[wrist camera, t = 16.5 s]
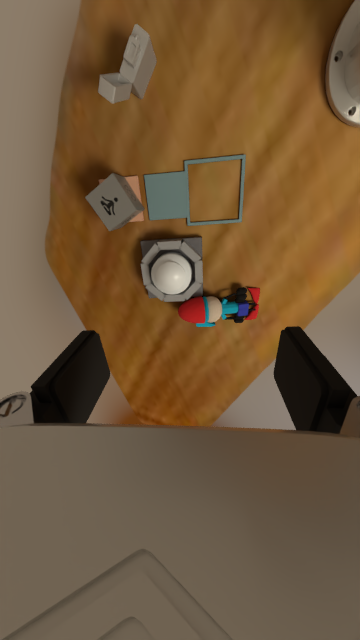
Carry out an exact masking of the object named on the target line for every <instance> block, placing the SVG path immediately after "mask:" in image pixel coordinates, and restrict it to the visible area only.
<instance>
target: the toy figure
mask: <svg viewBox="0 0 360 640" xmlns="http://www.w3.org/2000/svg"><path fill="white" fill-rule="evenodd" d="M248 289H249V290H250V293H251V295H252V298H253V301H254V303H248V302H247V301H246V300H245V299H246V297H247V295H246V294H245V293H246V292H247V289H246V288H245V287H243V288H238V289H237V293H236V294H235V293H233V294H231V295H229V296H227V297H225V298H223V300H222V302H220V301H219V300H218V299H217V298H216V297H212V296H210V297H203V298H202V296H201V297H195V298H192V299H189V300H187V301H185V302H184V303H183V304H182V305H181V306H180V307H179V310H178V314H179V316H180V317H181V318H182V319H183V320H185V321H187V322H191V323H196V325H197V327H212V326H214V325H215V323H214V322H215V321H217V320H218V319H219V318H220V316H222V318H223V320H224V319H225V320H226V319H234V322H235V323H242V322H243V321H244V320H251V319H256V317H257V314H258V308H259V305H258V304H257V303H258V300H259V294H260V288H248ZM233 295H237V296H236V299H235V301H233V302H227V301H228V300H227V298H229V297H231V296H233ZM255 304H256V306H255V307H254V308H253V309H248V307H249V305H255ZM248 311H251V312H250V313H249V315H248ZM230 313H235V318H232V317H226V316H225V314H230ZM245 315H248V316H247V317H246V318H245V319H244V320H243V318H244V316H245Z"/></svg>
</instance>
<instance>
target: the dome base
mask: <svg viewBox="0 0 360 640" xmlns="http://www.w3.org/2000/svg"><path fill="white" fill-rule="evenodd" d="M141 248H142V255H143V260H142V263H141V269H142V276H143V282H144V285H147V286H146V287H145V288H147V289H148V295H149V298H159V299H160V300H161V301H162V300H163V299H164V302H171V301H185V299H187V300H188V299H189V298H190V297H191V296H203V270H202V237H190V238H174V239H158V240H143V241H141ZM167 252H178V253H181V254H183V255H184V256H185V257H186V258H187V259H188V260H189V262H190V264H191V268H192V274H191V281H190V283H189V285H188V287H187V288H186V289H185V290H184V291H182V292H181V293H178V294H166V293H163V292H161V291H160V290H159V289H158V288H157V287H156V286H155V285H154V283H153V281H152V277H151V271H152V267H153V265H154V263H155V262H156V261H157V259H158V258H159V257H160V256H161V255H162V254H164V253H167Z"/></svg>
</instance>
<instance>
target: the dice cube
mask: <svg viewBox="0 0 360 640" xmlns="http://www.w3.org/2000/svg"><path fill="white" fill-rule="evenodd" d="M85 198H86V199H87V201H88V202H89V203H90V205H91V206H92V207H93V209H94V210H95V212H96V213H97V214H98V216H99V217H100V219H101V220H102V221H103V223H104V224H105V226H106V227H107V228H108V230H109V231H112V230H115V229H118V228H121V227H122V226H124V225H125V224H126V223H128V222H129V221H130V220H132V219H133V218H134V217H136V216H137V215H138V214H139V213H141V212H142V211H143V210H145V209H144V207H143V206H142V204H141V202H140V201H139V199H138V198H137V196H136V194H135V193H134V191H133V190H132V188H131V186H130V185H129V183H128V182H127V180H126V178H125V177H123V176H120V175H117V174H114V173H112V174H111V175H110V176H109V177H108V178H106V179H105V180H104V181H103V182H102V183H101V184H100V185H99V186H97V187H96V188H95V189H94V190H93V191H92V192H91V193H90V194H88V195H87V196H86V197H85Z"/></svg>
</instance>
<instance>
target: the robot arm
mask: <svg viewBox="0 0 360 640" xmlns="http://www.w3.org/2000/svg"><path fill="white" fill-rule="evenodd" d="M334 58H335V59H336V62H335V60H334ZM325 84H326V94H327V97H328V101H329V104H330V106H331V108H332V110H333V112H334V114H335V115H336V116H337V117H338V118H339V119H340V120H341V121H343V122H344V123H346V124H348V125H351V126H354V127H360V0H354V2H353V3H352V5H351V6H350V8H349V9H348V11H347V12H346V14H345V16H344V17H343V19H342V21H341V23H340V25H339V27H338V29H337V31H336V33H335V36H334V39H333V42H332V45H331V48H330V50H329V55H328V60H327V65H326V76H325ZM348 111H349V115H348ZM109 377H110V370H109V367H108V363H107V360H106V357H105V353H104V350H103V347H102V343H101V340H100V336H99V334H98V333H96V332H95V331H94V330H90V331H82V332H81V333H80V334H79V335H78V336H77V337H76V338H75V339H74V340H73V341H72V342H71V343H70V345H69V346H68V347H67V348H66V349H65V350H64V351H63V352H62V353H61V354H60V355H59V356H58V358H57V359H56V360H55V361H54V362H53V363H52V364H51V365H50V366H49V367H48V368H47V370H45V372H44V373H43V374H42V375H41V376H40V377H39V378H38V379H37V380H36V381H35V382H34V383H33V385H32V386H31V388H32V392H31V393H30V394H29V393H28V392H16V393H13V394H10V395H8V396H6V397H4V398H2V399H1V400H0V640H360V396H357V395H356V394H355V392H354V391H353V390H352V389H351V388H350V386H349V385H348V384H347V383H346V381H345V380H344V379H343V378H342V377H341V375H340V374H339V373H338V372H337V370H336V369H335V368H334V367H333V366H332V364H331V363H330V362H329V361H328V360H327V358H326V357H325V356H324V355H323V354H322V353H321V352H320V351H319V349H318V348H317V347H316V346H315V344H314V343H313V342H312V341H311V340H310V338H309V337H308V336H307V335H306V333H305V332H304V331H303V330H302V328H301V327H286V328H285V330H282V331H281V335H280V340H279V346H278V352H277V357H276V363H275V368H274V379H275V381H276V383H277V386H278V388H279V391H280V392H281V395H282V397H283V400H284V402H285V405H286V407H287V409H288V412H289V414H290V416H291V419H292V421H293V423H294V426H295V428H296V430H282V429H260V428H230V427H203V426H169V425H134V424H89V423H86V422H87V420H88V418H89V416H90V414H91V412H92V410H93V408H94V407H95V405H96V403H97V401H98V399H99V397H100V395H101V393H102V391H103V389H104V387H105V385H106V383H107V381H108V379H109Z"/></svg>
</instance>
